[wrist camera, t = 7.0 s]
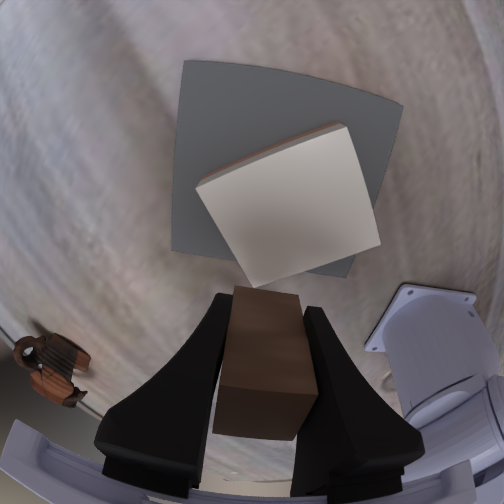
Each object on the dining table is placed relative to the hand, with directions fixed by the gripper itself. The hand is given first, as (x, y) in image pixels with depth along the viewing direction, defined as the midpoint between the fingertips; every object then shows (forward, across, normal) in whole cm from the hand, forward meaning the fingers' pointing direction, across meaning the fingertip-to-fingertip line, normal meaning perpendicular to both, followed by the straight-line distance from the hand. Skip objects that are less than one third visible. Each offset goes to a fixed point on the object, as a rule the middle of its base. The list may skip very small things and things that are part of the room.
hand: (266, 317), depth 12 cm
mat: (+8, 0, -4) cm, 8 cm away
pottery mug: (+8, +23, +22) cm, 33 cm away
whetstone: (+6, -3, +1) cm, 7 cm away
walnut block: (+2, 0, +2) cm, 2 cm away
